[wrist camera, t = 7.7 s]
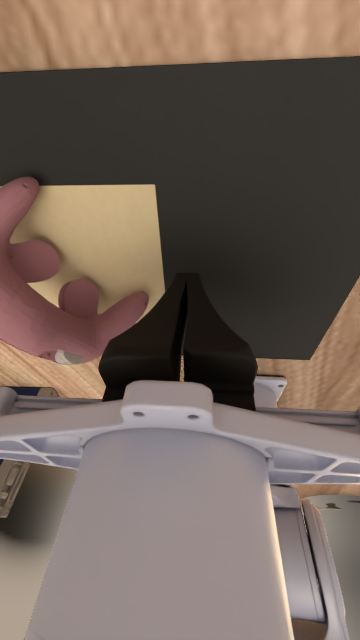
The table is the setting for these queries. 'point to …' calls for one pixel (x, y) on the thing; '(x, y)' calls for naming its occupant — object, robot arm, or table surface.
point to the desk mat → (197, 186)
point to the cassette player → (7, 475)
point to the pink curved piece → (37, 312)
